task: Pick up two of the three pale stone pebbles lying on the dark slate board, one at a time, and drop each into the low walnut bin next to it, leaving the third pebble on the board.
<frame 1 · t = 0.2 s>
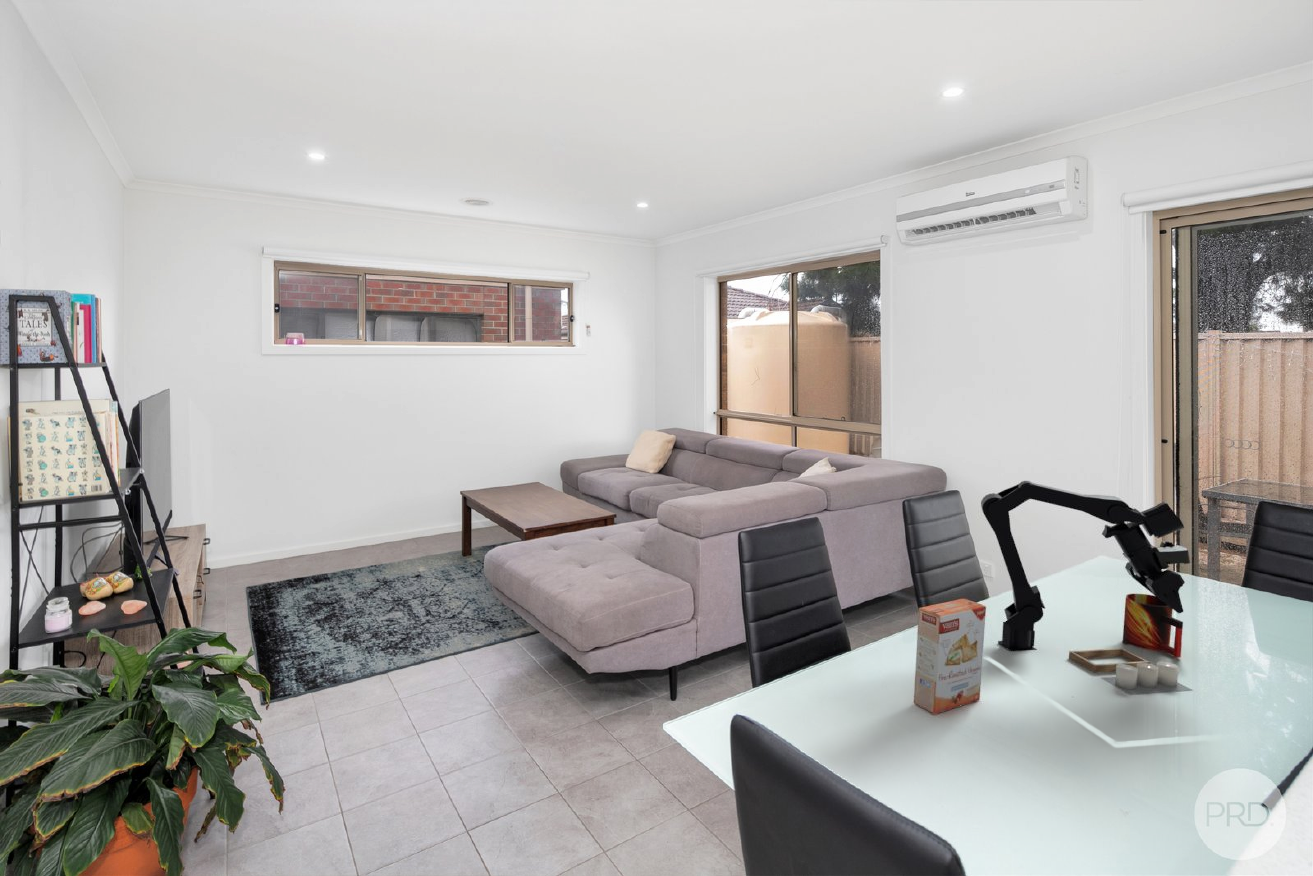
hand: (1172, 606, 158), 15 cm above the table, tool tilted 30°, fingers open, 9 cm apart
cracker box: (947, 703, 143), on the table
pebble b: (1146, 683, 150), point 1 cm above the table, touching slate board
mug: (1154, 649, 171), on the table
slate board: (1145, 687, 150), on the table
walnut bin: (1108, 666, 160), on the table
pebble c: (1166, 682, 150), point 1 cm above the table, touching slate board
pebble a: (1125, 685, 149), point 1 cm above the table, touching slate board
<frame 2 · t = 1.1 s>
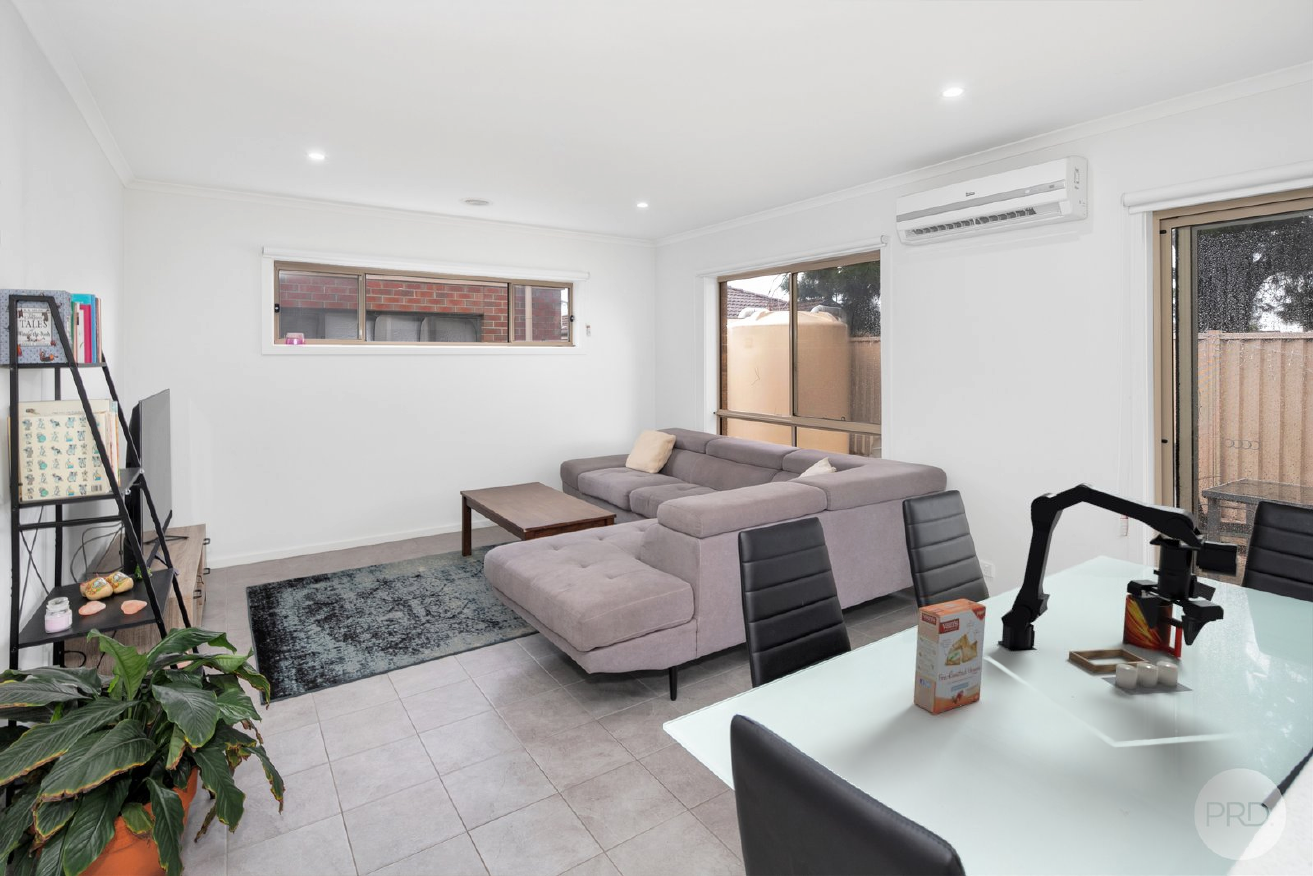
hand: (1169, 637, 149), 11 cm above the table, tool pointing down, fingers open, 9 cm apart
nothing on the table moved.
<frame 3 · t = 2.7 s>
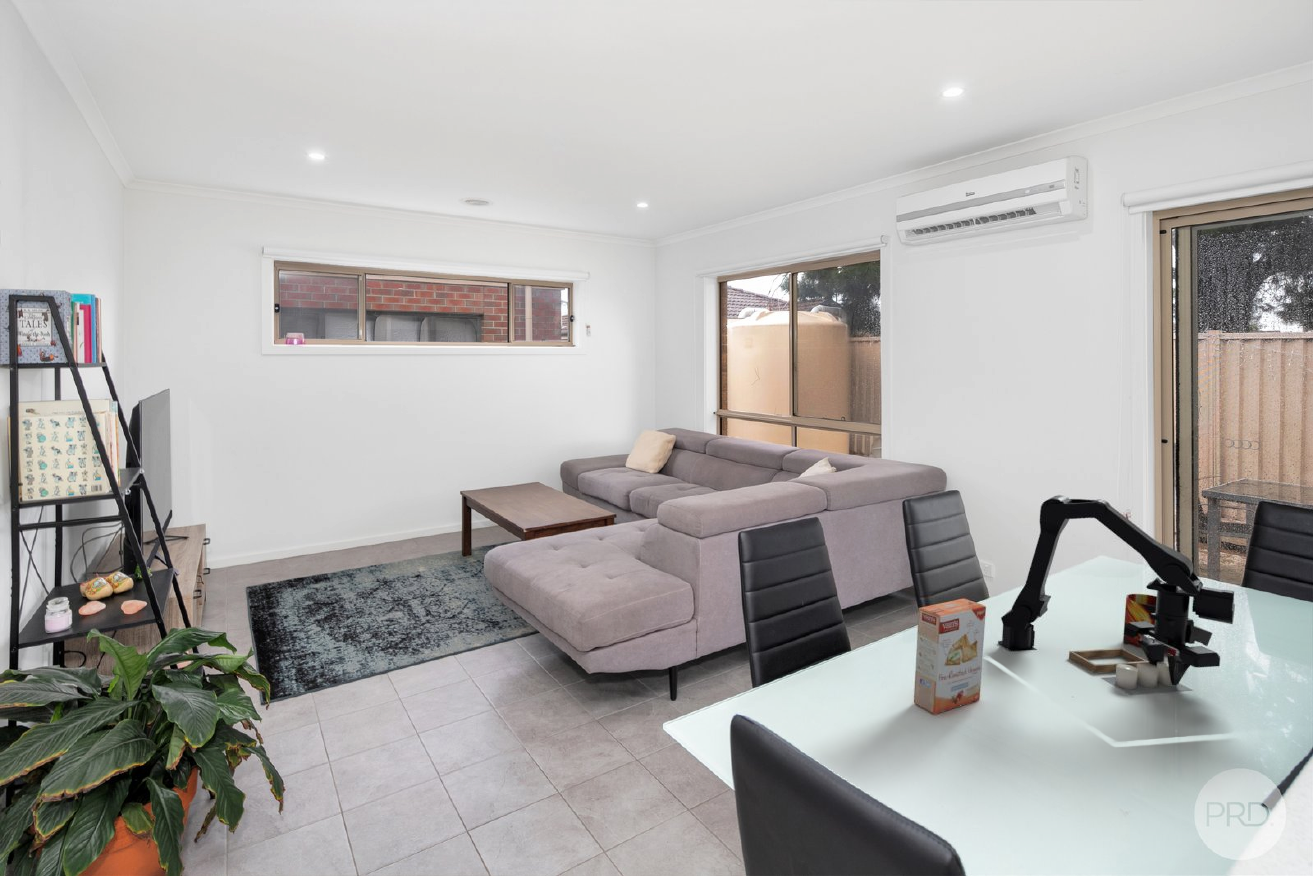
hand: (1166, 680, 150), 1 cm above the table, tool pointing down, fingers closed on pebble c, 4 cm apart
pebble c: (1166, 682, 150), point 1 cm above the table, touching gripper, slate board
everything else where it was.
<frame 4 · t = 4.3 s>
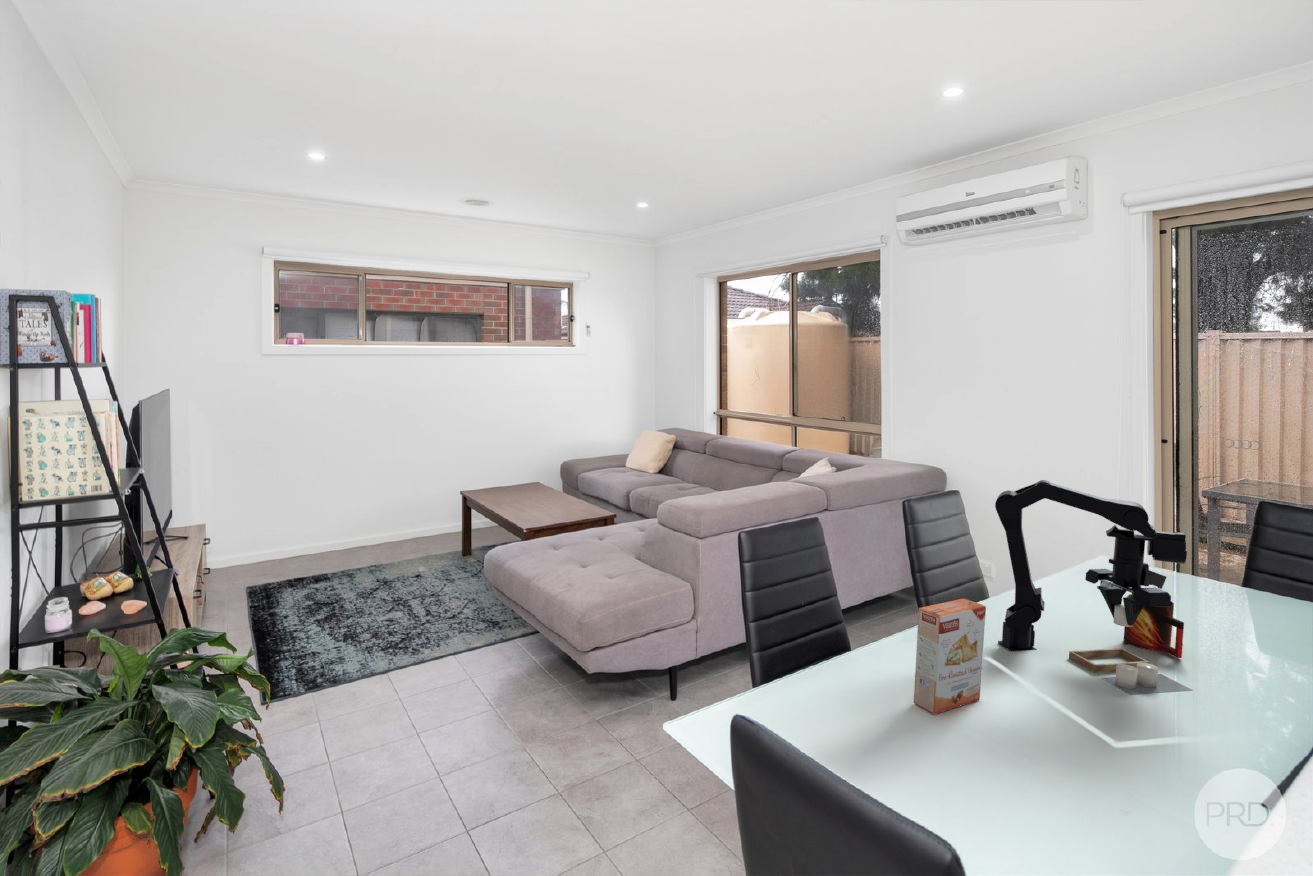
hand: (1123, 622, 159), 11 cm above the table, tool pointing down, fingers closed on pebble c, 4 cm apart
pebble c: (1123, 623, 159), point 10 cm above the table, touching gripper
everything else where it was.
when the fingers open (4 cm above the table, at t = 5.8 s): pebble c drops 3 cm, resting on walnut bin.
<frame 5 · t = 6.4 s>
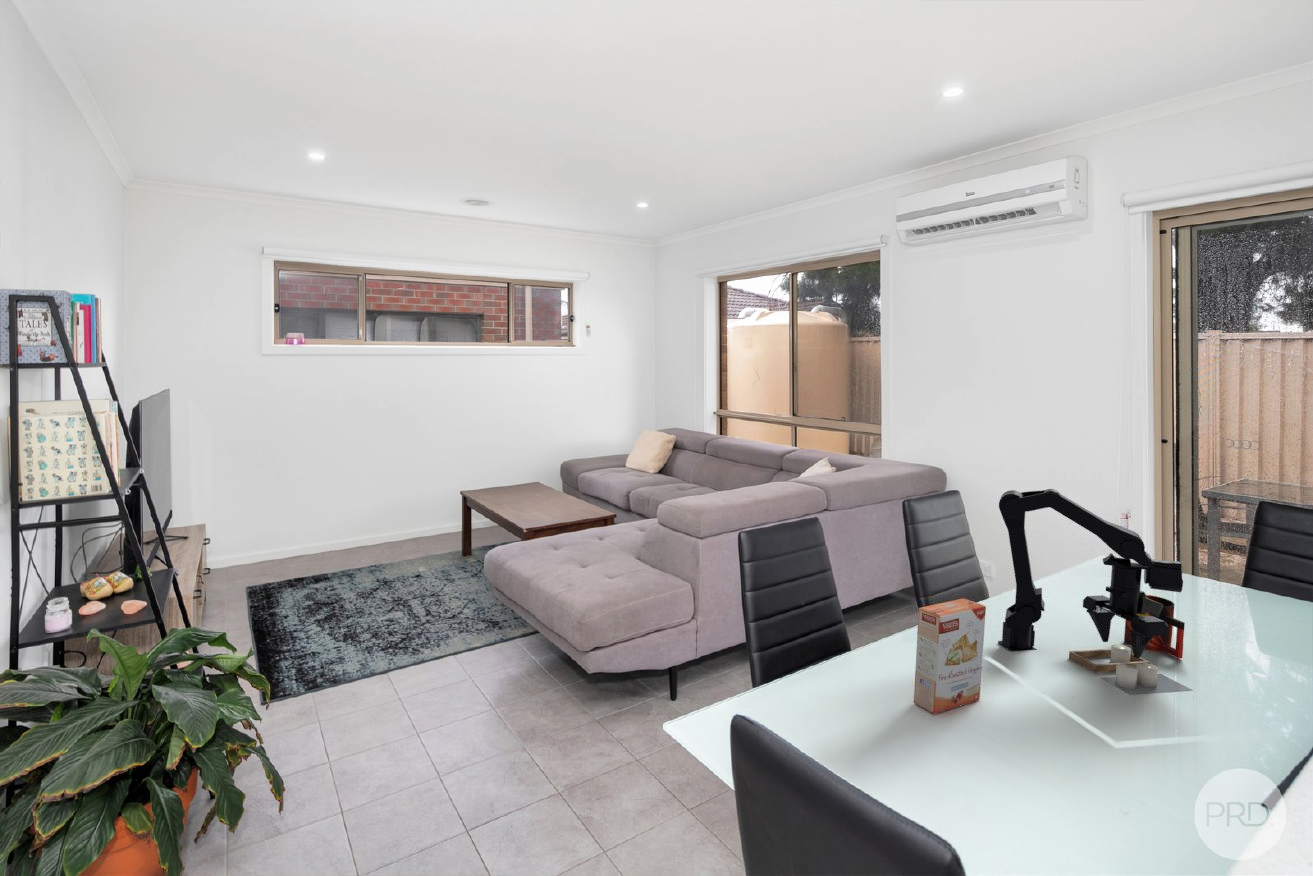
hand: (1120, 649, 160), 4 cm above the table, tool pointing down, fingers open, 9 cm apart
pebble c: (1119, 664, 160), point 1 cm above the table, touching walnut bin
everything else where it was.
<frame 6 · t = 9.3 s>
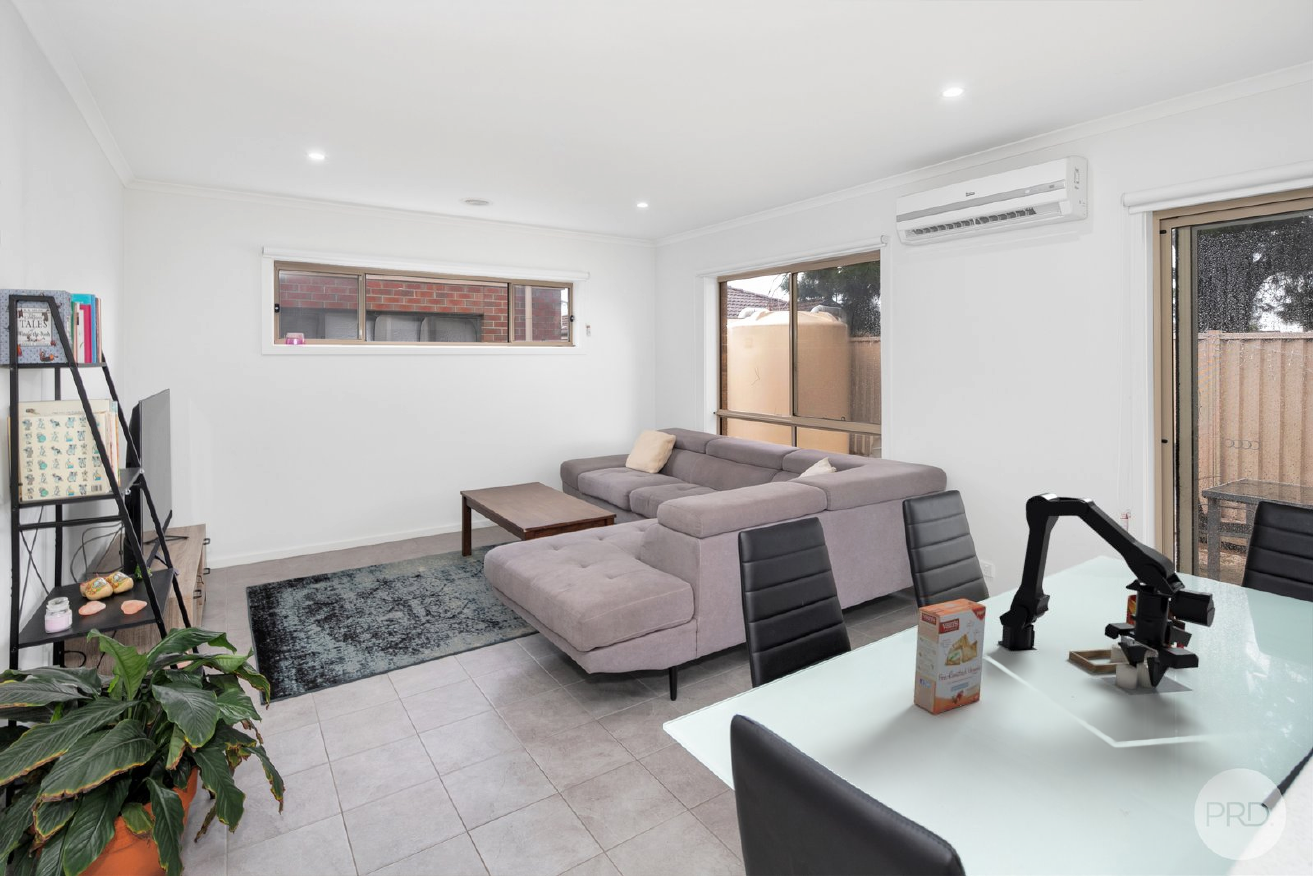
hand: (1146, 682, 150), 1 cm above the table, tool pointing down, fingers closed on pebble b, 4 cm apart
pebble b: (1146, 683, 150), point 1 cm above the table, touching gripper, slate board
everything else where it was.
when the fingers open (4 cm above the table, at t = 12.5 s): pebble b drops 3 cm, resting on walnut bin.
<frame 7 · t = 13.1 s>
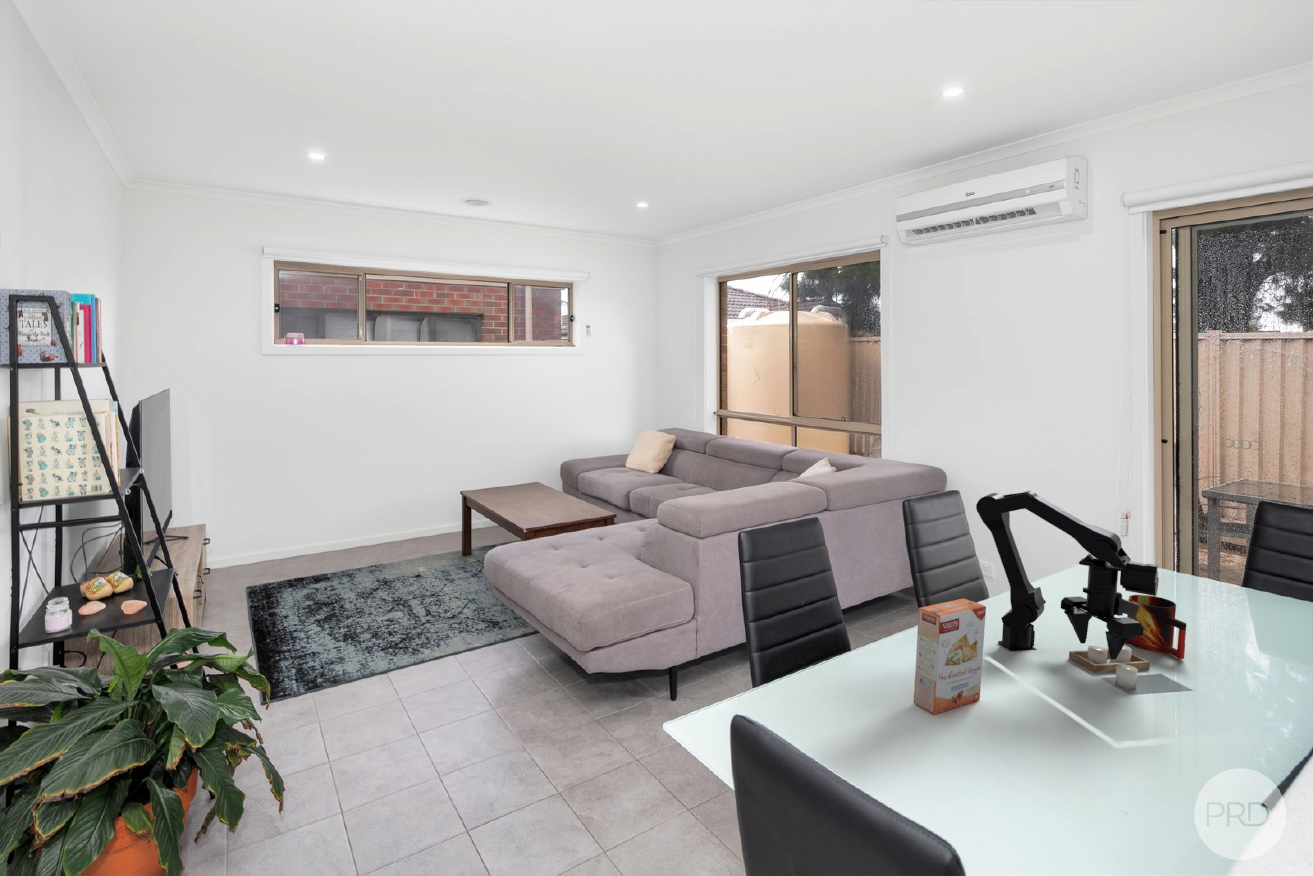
hand: (1097, 651, 159), 4 cm above the table, tool pointing down, fingers open, 9 cm apart
pebble b: (1096, 665, 160), point 1 cm above the table, touching walnut bin
everything else where it was.
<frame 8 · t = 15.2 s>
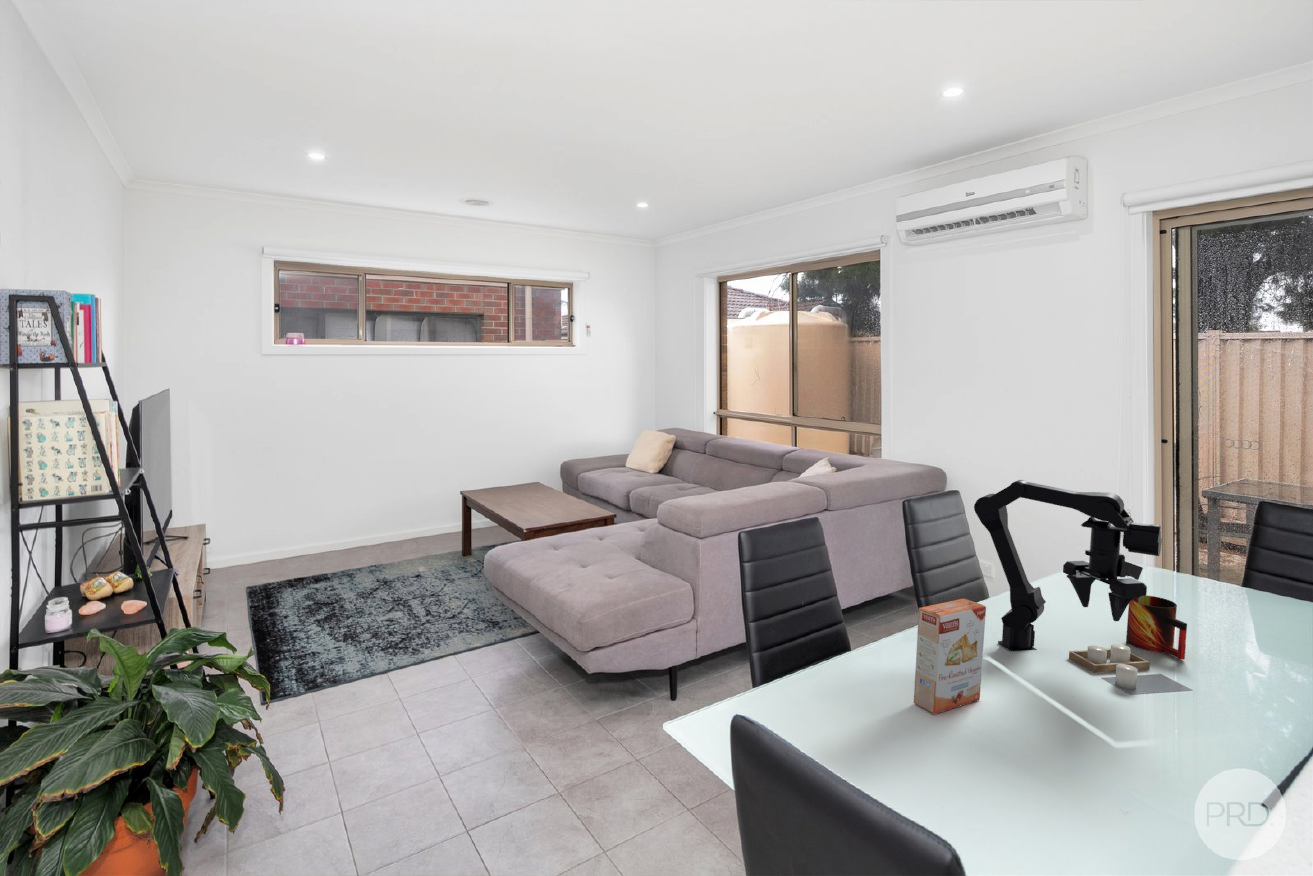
hand: (1100, 613, 158), 13 cm above the table, tool pointing down, fingers open, 9 cm apart
at the end: pebble c inside the target area on the walnut bin (3.0 cm from its centre), point 0.6 cm above the walnut bin's base; pebble b inside the target area on the walnut bin (3.0 cm from its centre), point 0.5 cm above the walnut bin's base; pebble a inside the target area on the slate board (5.0 cm from its centre), point 0.8 cm above the slate board's base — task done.
